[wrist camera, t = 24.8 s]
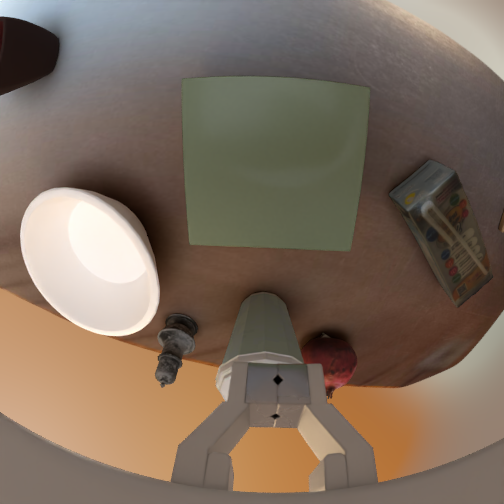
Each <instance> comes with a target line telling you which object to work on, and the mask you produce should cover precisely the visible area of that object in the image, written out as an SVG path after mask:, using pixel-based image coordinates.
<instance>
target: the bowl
mask: <svg viewBox="0 0 504 504" xmlns="http://www.w3.org/2000/svg"><path fill="white" fill-rule="evenodd" d="M20 239H21V249H22V254H23V258H24V262H25V264H26V267H27V270H28V272H29V274H30V276H31V278H32V280H33V282H34V284H35V285H36V287H37V288H38V290H39V291H40V292H41V294H42V295H43V297H44V298H45V299H46V300H47V301H48V302H49V303H50V304H51V306H52V307H54V308H55V309H56V310H57V311H58V312H59V313H60V314H61V315H63V316H64V317H66V318H67V319H68V320H70V321H71V322H73V323H74V324H76V325H78V326H80V327H82V328H84V329H86V330H89V331H92V332H95V333H98V334H103V335H108V336H123V335H129V334H132V333H135V332H137V331H139V330H141V329H142V328H144V327H145V326H146V325H147V324H148V323H150V321H151V320H152V318H153V317H154V315H155V314H156V311H157V307H158V304H159V294H160V286H159V279H158V273H157V267H156V261H155V256H154V253H153V251H152V248H151V245H150V243H149V239H148V236H147V233H146V231H145V229H144V227H143V225H142V223H141V222H140V221H139V219H138V218H137V217H136V215H135V214H134V213H133V212H132V211H131V210H130V209H129V208H128V207H126V206H125V205H123V204H122V203H120V202H119V201H116V200H114V199H112V198H109V197H106V196H104V195H101V194H99V193H97V192H94V191H89V190H83V189H76V188H69V187H62V188H52V189H50V190H47V191H45V192H42V193H41V194H39V195H38V196H37V197H36V198H35V199H33V200H32V202H31V203H30V205H29V206H28V208H27V209H26V211H25V214H24V217H23V220H22V224H21V232H20Z"/></svg>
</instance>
